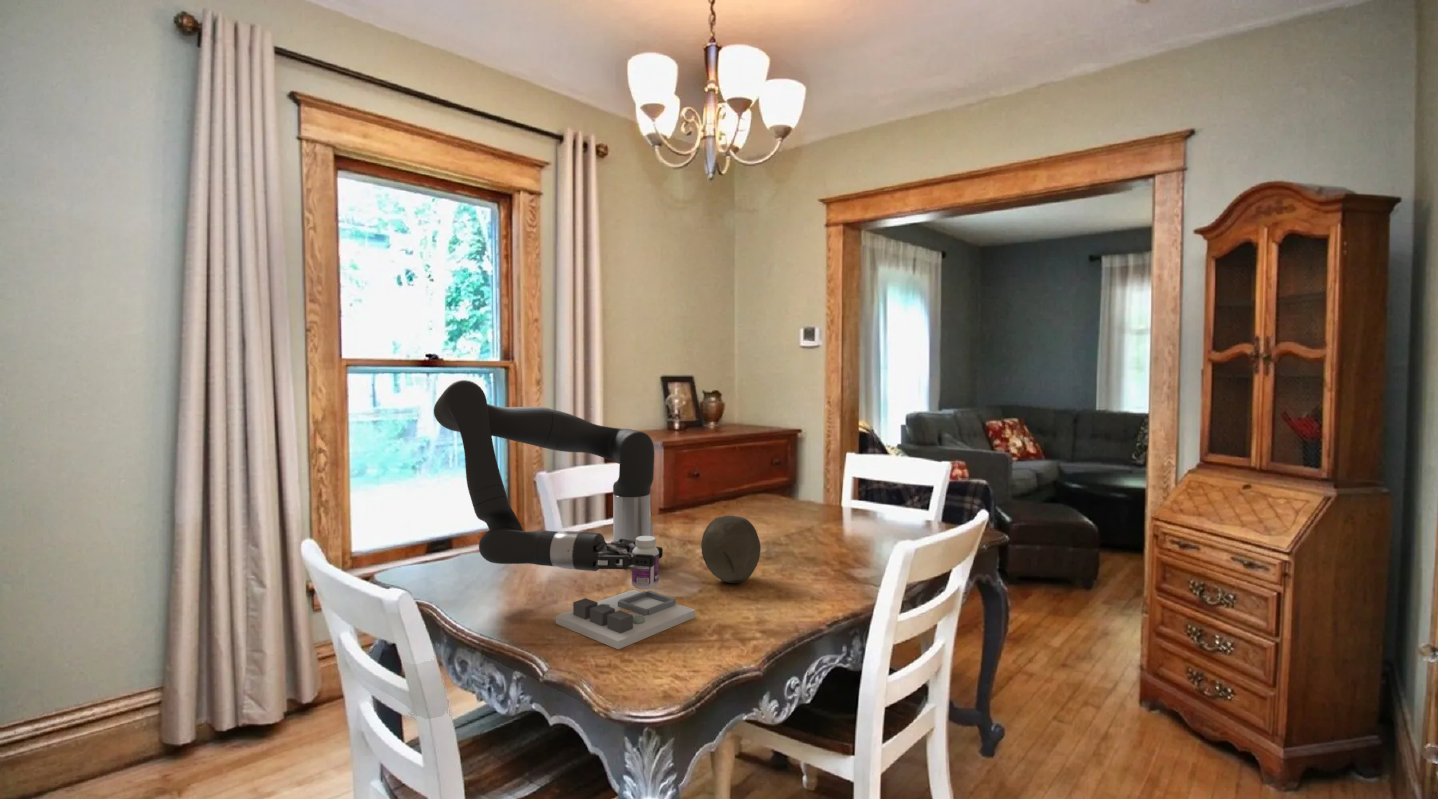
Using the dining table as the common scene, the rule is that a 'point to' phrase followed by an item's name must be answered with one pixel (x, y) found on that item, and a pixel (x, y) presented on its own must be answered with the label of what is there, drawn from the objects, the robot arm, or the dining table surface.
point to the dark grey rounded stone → (731, 548)
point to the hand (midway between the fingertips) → (657, 556)
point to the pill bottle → (646, 575)
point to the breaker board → (638, 628)
